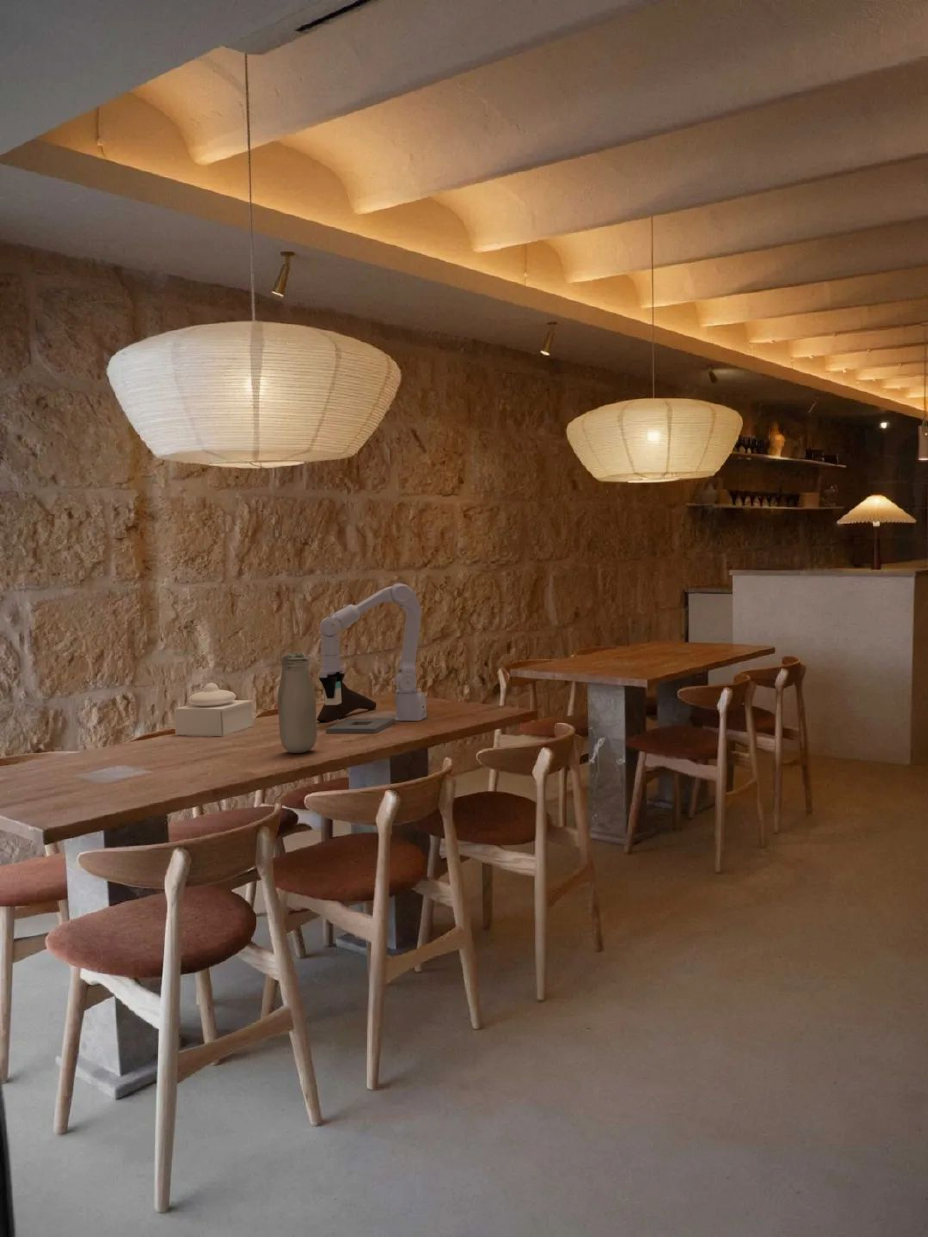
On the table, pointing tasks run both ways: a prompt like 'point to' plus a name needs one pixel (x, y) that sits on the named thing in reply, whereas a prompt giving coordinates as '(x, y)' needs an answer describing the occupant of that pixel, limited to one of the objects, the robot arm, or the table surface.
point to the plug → (337, 695)
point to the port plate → (361, 725)
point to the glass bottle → (297, 704)
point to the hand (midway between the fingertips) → (333, 697)
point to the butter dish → (213, 713)
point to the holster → (345, 705)
